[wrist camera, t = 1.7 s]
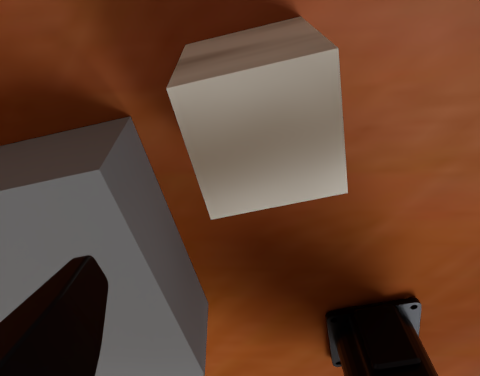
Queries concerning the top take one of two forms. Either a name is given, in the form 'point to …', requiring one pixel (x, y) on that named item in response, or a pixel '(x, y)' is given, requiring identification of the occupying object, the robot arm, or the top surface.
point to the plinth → (103, 244)
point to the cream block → (262, 117)
